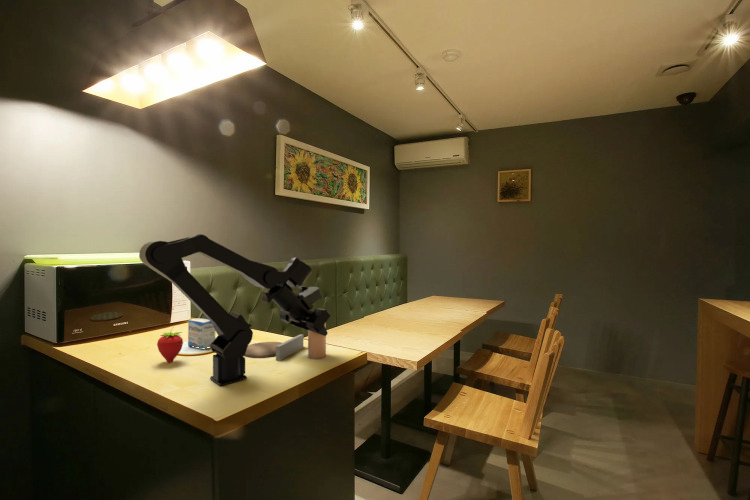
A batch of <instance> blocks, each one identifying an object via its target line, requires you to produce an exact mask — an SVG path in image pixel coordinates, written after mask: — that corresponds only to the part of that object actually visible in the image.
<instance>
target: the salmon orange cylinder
mask: <svg viewBox="0 0 750 500" xmlns="http://www.w3.org/2000/svg"><path fill="white" fill-rule="evenodd" d="M324 325H325V328H326V329H327V322H326V323H325V324H324ZM326 356H327V335H326V336H324V335H321V334H318V333H315V332H313V331H310V330H307V357H308V358H309V359H314V360H318V359H324V358H325V357H326Z"/></svg>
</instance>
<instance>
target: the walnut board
mask: <svg viewBox="0 0 750 500" xmlns="http://www.w3.org/2000/svg"><path fill="white" fill-rule="evenodd" d="M281 343H282V342H279V341H263V342H262V341H261V342H257V343H255V342H254V343H250V344H249V345H248V347H247V350H246V353H245V355H244V356H243V357H245V358H246V357H247V358H251V359H252V358H255V359H256V358H257V359H262V358H270V357H276V346H277V345H279V344H281Z"/></svg>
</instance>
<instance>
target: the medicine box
mask: <svg viewBox="0 0 750 500" xmlns="http://www.w3.org/2000/svg"><path fill="white" fill-rule="evenodd" d="M187 326H188V328H187V329H188V331H187V346H188V347H189V346H194V347H199V348H207V347H210V344H211V343H212V342H213V341H214V340H215V338H216V331H215V329H214V327H213V324H212V323H211V321H210V320H209V319H208V318H199V317H198V318H192V319H189V320H188V321H187Z"/></svg>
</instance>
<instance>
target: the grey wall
mask: <svg viewBox="0 0 750 500" xmlns="http://www.w3.org/2000/svg"><path fill="white" fill-rule="evenodd" d="M303 348H304V334H298V335H296V336H294V337H292V338H290V339H287V340H285V341H284V342H281V344H279V345H277V346H276V356H275V361H282V360H283V359H285V358H287V357H289V356H291V355H292V354H294V353H296V352H298V351H299V350H301V349H303Z"/></svg>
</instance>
